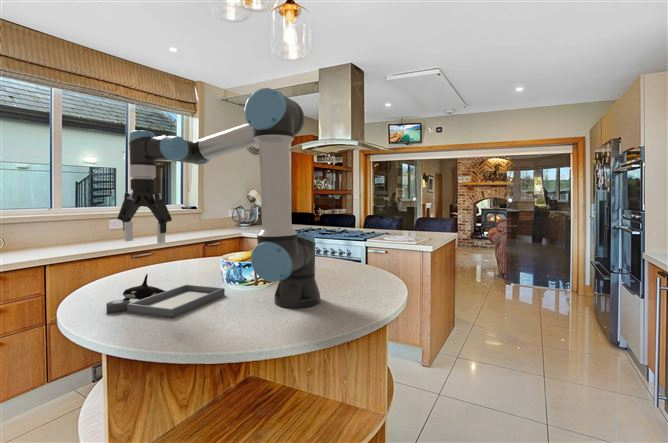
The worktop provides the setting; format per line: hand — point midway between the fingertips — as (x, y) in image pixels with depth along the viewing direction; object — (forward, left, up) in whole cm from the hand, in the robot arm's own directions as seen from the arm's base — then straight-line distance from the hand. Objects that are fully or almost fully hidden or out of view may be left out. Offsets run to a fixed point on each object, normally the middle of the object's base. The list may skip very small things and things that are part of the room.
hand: (144, 242), depth 122 cm
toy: (0, 0, -20) cm, 20 cm away
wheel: (-2, +13, -19) cm, 23 cm away
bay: (-15, +1, -19) cm, 24 cm away
